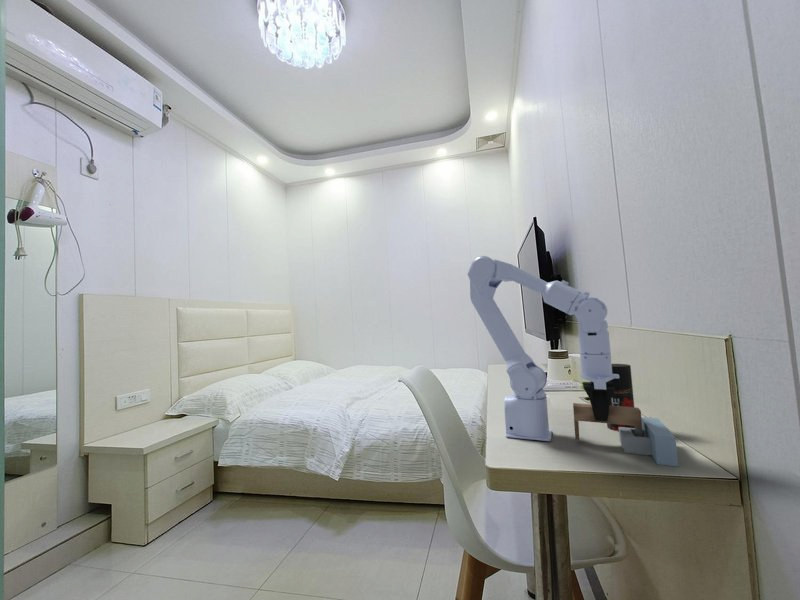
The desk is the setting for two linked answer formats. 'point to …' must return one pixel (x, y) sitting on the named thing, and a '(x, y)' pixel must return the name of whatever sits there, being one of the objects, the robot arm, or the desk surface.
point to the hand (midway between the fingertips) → (600, 418)
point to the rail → (609, 417)
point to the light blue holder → (651, 441)
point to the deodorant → (621, 391)
